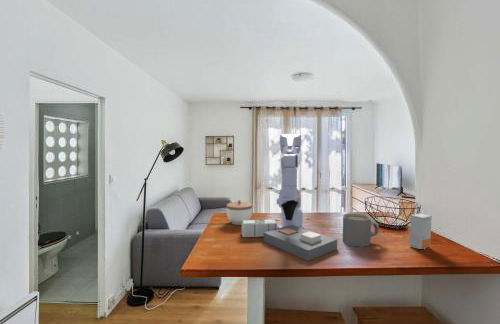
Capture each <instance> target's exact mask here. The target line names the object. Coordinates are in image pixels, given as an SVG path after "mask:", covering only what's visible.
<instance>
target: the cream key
mask: <svg viewBox="0 0 500 324" xmlns="http://www.w3.org/2000/svg"><path fill="white" fill-rule="evenodd" d="M310 231H311V230H309V232H306V233H303V234H301V241H304V242H307V243H310V244H315V243H318V242H320V241H321V235H320V234H321V233H319V234H316V233H317V232H316V233H313V232H314V231H312V232H310Z"/></svg>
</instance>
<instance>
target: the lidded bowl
mask: <svg viewBox="0 0 500 324" xmlns="http://www.w3.org/2000/svg"><path fill="white" fill-rule="evenodd" d="M225 208H226V214H227V218H228V220H229V222H231V224H232V225H235V226H242V220H251V217H252V213H253V203H251V202H247V201H242V200H241V199H240V200H239V199H238V201H233V202H228V203H227V204H226V207H225Z"/></svg>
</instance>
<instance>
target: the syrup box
mask: <svg viewBox="0 0 500 324" xmlns="http://www.w3.org/2000/svg"><path fill="white" fill-rule="evenodd" d="M275 229H278V223H277V221H276V219H249V220H242V225H241V235H242V236H241V237H242V238H261V237H263V238H264V232H267V231H271V230H275Z"/></svg>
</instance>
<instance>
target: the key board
mask: <svg viewBox="0 0 500 324" xmlns="http://www.w3.org/2000/svg"><path fill="white" fill-rule="evenodd" d="M286 228H289V229H292V230H295V231H297V233H296V234H292V235H289V236H288V235H285V234H282V233H280V232H279V230H283V229H286ZM309 231H310V232H313V233H316V234H320V235H321V241H320V242H318V243H315V244H310V243H307V242H304V241H301V234H303V233H306V232H309ZM263 242H264V243H266V244H269V245H271V246H273V247H275V248H277V249H280V250H282V251H285V252H287V253H289V254H292V256H293V255H294V256H296V257H298V258H300V259H303V260H305V261H308V262H310V261H313V260H314V259H317V258H319V257H321V256H323V255H326V254H329V253H330V252H333V251H335V250H337V249H338V239H336V238H334V237H331V236H328V235H326V234H321V233H318V232H315V231H312V230H308V229H307V228H300V227H297V226H294V225H290V226H286V227H282V228H278V229H275V230H271V231H267V232H264V237H263Z"/></svg>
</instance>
